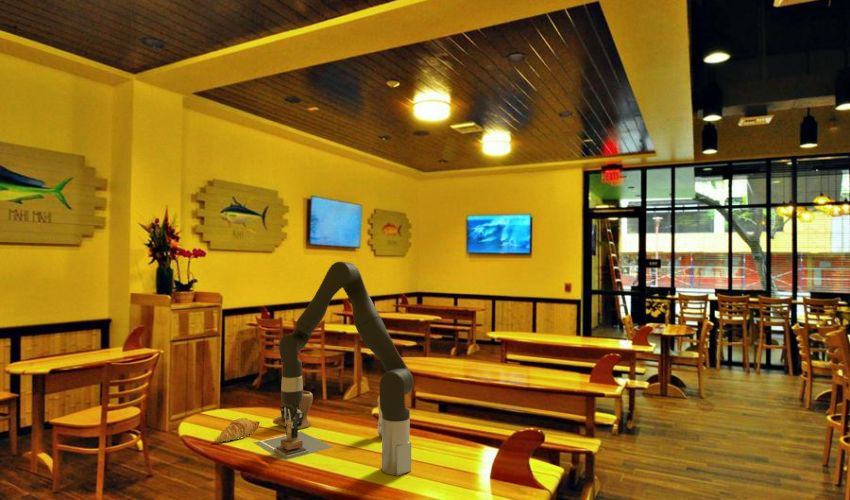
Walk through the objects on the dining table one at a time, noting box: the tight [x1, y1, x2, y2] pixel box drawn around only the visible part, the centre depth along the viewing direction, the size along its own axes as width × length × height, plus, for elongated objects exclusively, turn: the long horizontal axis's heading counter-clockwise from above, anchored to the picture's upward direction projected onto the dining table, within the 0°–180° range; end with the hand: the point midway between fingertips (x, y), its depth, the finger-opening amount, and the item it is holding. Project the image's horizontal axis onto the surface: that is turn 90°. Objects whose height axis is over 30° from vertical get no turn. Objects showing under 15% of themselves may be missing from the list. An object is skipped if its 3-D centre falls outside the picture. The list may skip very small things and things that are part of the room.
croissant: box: [216, 417, 261, 443], centre depth 205 cm, size 21×10×8 cm, turn 155°
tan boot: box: [272, 390, 314, 430], centre depth 218 cm, size 15×12×15 cm
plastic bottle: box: [376, 394, 382, 438], centre depth 205 cm, size 6×7×20 cm
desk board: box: [253, 431, 333, 461], centre depth 193 cm, size 24×20×2 cm
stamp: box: [281, 418, 303, 450], centre depth 186 cm, size 6×6×10 cm
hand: (291, 436), depth 186 cm, fingers closed on stamp, 3 cm apart
